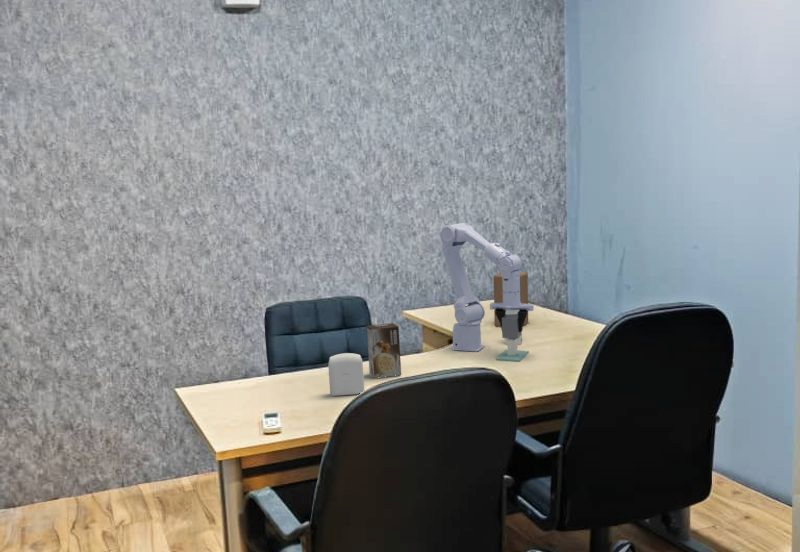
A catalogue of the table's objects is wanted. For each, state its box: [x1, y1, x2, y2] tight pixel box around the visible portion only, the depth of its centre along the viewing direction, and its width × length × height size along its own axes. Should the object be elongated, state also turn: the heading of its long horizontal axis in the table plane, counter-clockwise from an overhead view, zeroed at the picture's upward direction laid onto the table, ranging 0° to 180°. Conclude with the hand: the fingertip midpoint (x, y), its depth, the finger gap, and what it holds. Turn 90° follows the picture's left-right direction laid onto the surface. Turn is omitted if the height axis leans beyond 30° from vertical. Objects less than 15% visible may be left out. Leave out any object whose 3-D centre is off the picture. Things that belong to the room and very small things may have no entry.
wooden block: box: [493, 272, 529, 328], centre depth 362 cm, size 10×10×20 cm
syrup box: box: [504, 302, 523, 345], centre depth 335 cm, size 6×6×14 cm
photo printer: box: [327, 352, 365, 397], centre depth 280 cm, size 10×4×12 cm, turn 96°
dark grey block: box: [501, 314, 523, 339], centre depth 314 cm, size 5×5×7 cm
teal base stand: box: [495, 338, 530, 363], centre depth 316 cm, size 8×12×6 cm, turn 158°
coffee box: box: [366, 322, 402, 379], centre depth 298 cm, size 9×6×16 cm
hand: (512, 331), depth 315 cm, fingers closed on dark grey block, 5 cm apart
